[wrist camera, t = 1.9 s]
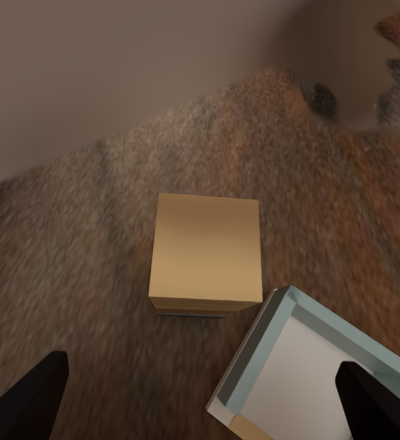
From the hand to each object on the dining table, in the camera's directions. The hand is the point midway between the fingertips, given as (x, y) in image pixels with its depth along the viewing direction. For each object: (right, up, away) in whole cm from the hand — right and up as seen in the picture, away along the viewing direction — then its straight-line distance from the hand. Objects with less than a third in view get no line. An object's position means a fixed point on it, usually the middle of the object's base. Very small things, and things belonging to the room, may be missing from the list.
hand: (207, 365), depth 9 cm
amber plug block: (-1, 0, +12) cm, 12 cm away
